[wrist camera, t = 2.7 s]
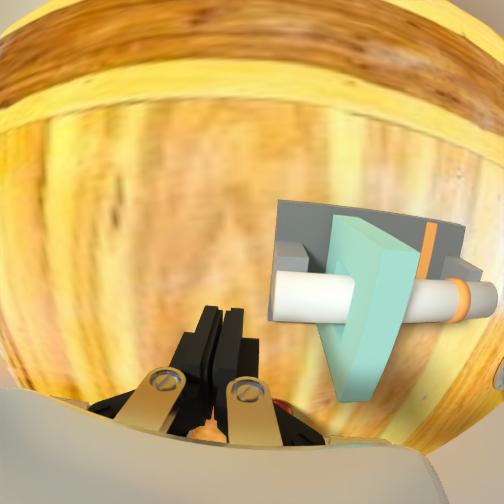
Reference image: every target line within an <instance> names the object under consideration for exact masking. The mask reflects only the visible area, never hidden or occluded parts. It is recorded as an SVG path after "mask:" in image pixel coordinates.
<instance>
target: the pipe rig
mask: <svg viewBox="0 0 504 504" xmlns="http://www.w3.org/2000/svg"><path fill="white" fill-rule="evenodd" d="M333 215H342V216H351V217H359V218H361V219H363V220H365V221H366V222H368V223H370V224H372V225H374V226H375V227H377V228H379V229H381V230H383V231H384V232H386V233H388V234H390V235H391V236H393V237H395V238H396V239H398V240H400V241H402V242H403V243H405V244H407V245H408V246H410V247H412V248H413V249H415V250H416V251H418V252H420V258H419V262H418V266H417V271H416V275H415V279H414V283H413V286H412V290H411V294H410V297H409V301H408V304H407V307H406V311H405V314H404V317H403V320H402V323H401V324H410V323H432V322H441V321H442V322H443V323H455V322H460V321H462V320H468V319H478V318H487V317H489V316H491V315H492V314H493V313H494V311H495V309H496V307H497V302H498V294H497V290H496V288H495V286H494V285H493V284H492V283H491V282H482V281H480V280H481V276H482V272H483V271H482V270H481V269H479V268H477V267H476V266H474V265H472V264H470V263H469V262H467V261H465V260H463V259H462V258H460V253H461V248H462V244H463V239H464V233H465V228H466V227H465V226H463V225H460V224H456V223H451V222H446V221H440V220H435V219H429V218H423V217H417V216H411V215H405V214H398V213H392V212H385V211H378V210H370V209H363V208H355V207H347V206H338V205H329V204H320V203H310V202H300V201H289V200H278V206H277V219H276V231H275V242H274V254H273V265H272V275H271V286H270V296H269V306H268V321H276V322H294V323H341V324H346V320H347V316H348V312H349V308H350V304H351V299H352V295H353V290H354V286H355V281H354V280H353V278H352V277H351V276H350V275H335V274H325V272H326V266H327V259H328V252H329V245H330V238H331V230H332V222H333Z"/></svg>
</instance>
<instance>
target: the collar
mask: <svg viewBox="0 0 504 504" xmlns="http://www.w3.org/2000/svg"><path fill="white" fill-rule="evenodd" d="M419 258H420V252H418V251H416V250H415V249H413V248H412V247H410V246H408V245H407V244H405V243H403V242H402V241H400V240H398V239H396V238H395V237H393V236H391V235H390V234H388V233H386V232H384V231H383V230H381V229H379V228H377V227H375V226H374V225H372V224H370V223H368V222H366V221H365V220H363V219H361V218H359V217H351V216H342V215H333V222H332V230H331V238H330V245H329V252H328V259H327V266H326V272H325V274H335V275H350V276H351V277H352V278H353V280H354V281H355V286H354V290H353V295H352V299H351V304H350V308H349V312H348V316H347V320H346V324H341V323H316V324H317V328H318V331H319V334H320V338H321V341H322V345H323V348H324V352H325V355H326V359H327V363H328V366H329V370H330V373H331V377H332V381H333V385H334V388H335V392H336V396H337V400H338V403H347V402H360V401H370V399H371V397H372V395H373V393H374V391H375V389H376V386H377V384H378V382H379V380H380V378H381V375H382V373H383V371H384V368H385V366H386V363H387V361H388V358H389V356H390V353H391V351H392V348H393V346H394V343H395V340H396V337H397V335H398V332H399V329H400V326H401V323H402V320H403V317H404V314H405V311H406V307H407V304H408V301H409V297H410V294H411V290H412V286H413V283H414V279H415V275H416V271H417V266H418V262H419Z"/></svg>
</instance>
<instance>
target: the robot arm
mask: <svg viewBox="0 0 504 504" xmlns="http://www.w3.org/2000/svg"><path fill="white" fill-rule="evenodd" d="M243 316H244V309H241V308H231V311H226V313H225V317H224V321H223V310H218V307H217V306H207V305H205V308H204V310H203V313H202V315H201V318H200V320H199V323H198V325H197V328H196V330H195V333H192V332H184V334H183V336H182V338H181V340H180V342H179V345H178V347H177V349H176V351H175V354H174V356H173V358H172V360H171V363H170V365H169V367H160V368H156V369H154V370H152V371H151V372H149V373H148V374H147V376H146V377H145V378H144V380H143V381H142V382H141V383H140V385H139V386H138V387H137V389H135V390H132V391H130V392H127V393H124V394H121V395H118V396H115V397H112V398H109V399H106V400H102V401H99V402H97V403H95V404H93V405H92V406H91V405H89V403H88V402H82V401H76V400H70V399H65V398H60V397H55V396H48V395H46V394H43V393H40V392H37V391H33V390H29V389H25V388H17V387H7V388H3V389H0V504H449V501H448V499H447V496H446V494H445V491H444V489H443V486H442V484H441V481H440V479H439V477H438V475H437V473H436V471H435V470H434V468H433V466H432V465H431V463H430V462H429V460H428V459H427V458H426V457H425V456H424V455H423V454H422V453H421V452H419V451H417V450H415V449H413V448H410V447H406V446H402V445H395V444H391V442H389V441H387V440H385V439H380V438H358V437H344V436H334V435H331V437H330V438H327V437H322V435H321V434H319V433H318V432H317V431H315V430H314V429H312V428H311V427H309V426H308V425H306V424H305V423H303V422H302V421H300V420H299V419H297V418H296V417H294V416H293V415H291V414H290V413H288V412H287V411H285V410H284V409H282V408H281V407H280V406H278V405H277V404H275V403H274V402H273V401H272V398H271V394H270V390H269V387H268V385H267V384H266V383H265V382H264V381H262V380H260V379H258V367H259V339H254V338H242V333H243ZM493 385H494V387H495V388H496V390H503V389H504V359H503V360H502V362H501V364H500V366H499V368H498V370H497V372H496V374H495V377H494V381H493ZM213 406H214V420H216V421H217V428H218V429H219V430H220V431H221V432H222V433H223V434H224V435H225V436H226V443H221V442H213V441H205V440H198V439H192V438H191V437H192V434H193V429H195V428H197V427H199V426H205V421H206V419H208V420H210V419H211V416H212V411H213Z"/></svg>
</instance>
